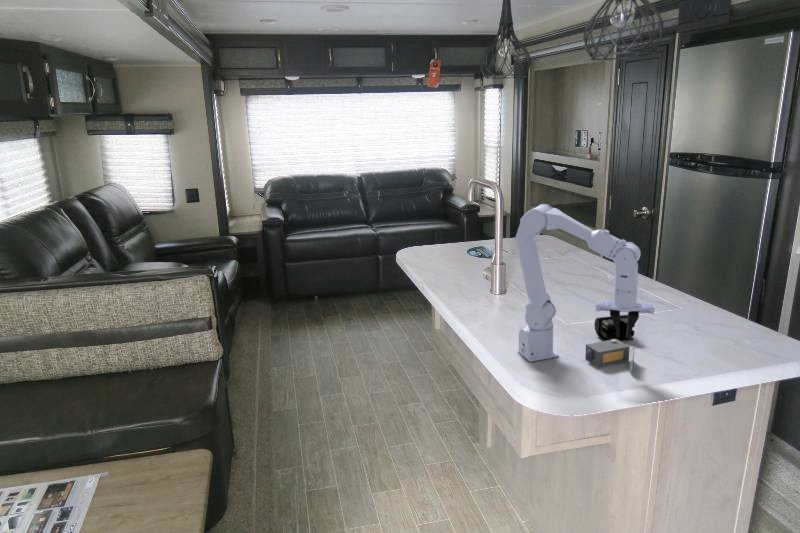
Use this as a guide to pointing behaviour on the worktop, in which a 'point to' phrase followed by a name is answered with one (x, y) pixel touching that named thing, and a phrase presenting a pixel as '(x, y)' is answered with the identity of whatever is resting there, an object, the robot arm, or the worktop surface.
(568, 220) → the robot arm
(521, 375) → the worktop surface
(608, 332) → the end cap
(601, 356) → the camera case
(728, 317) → the worktop surface
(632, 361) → the side cover
